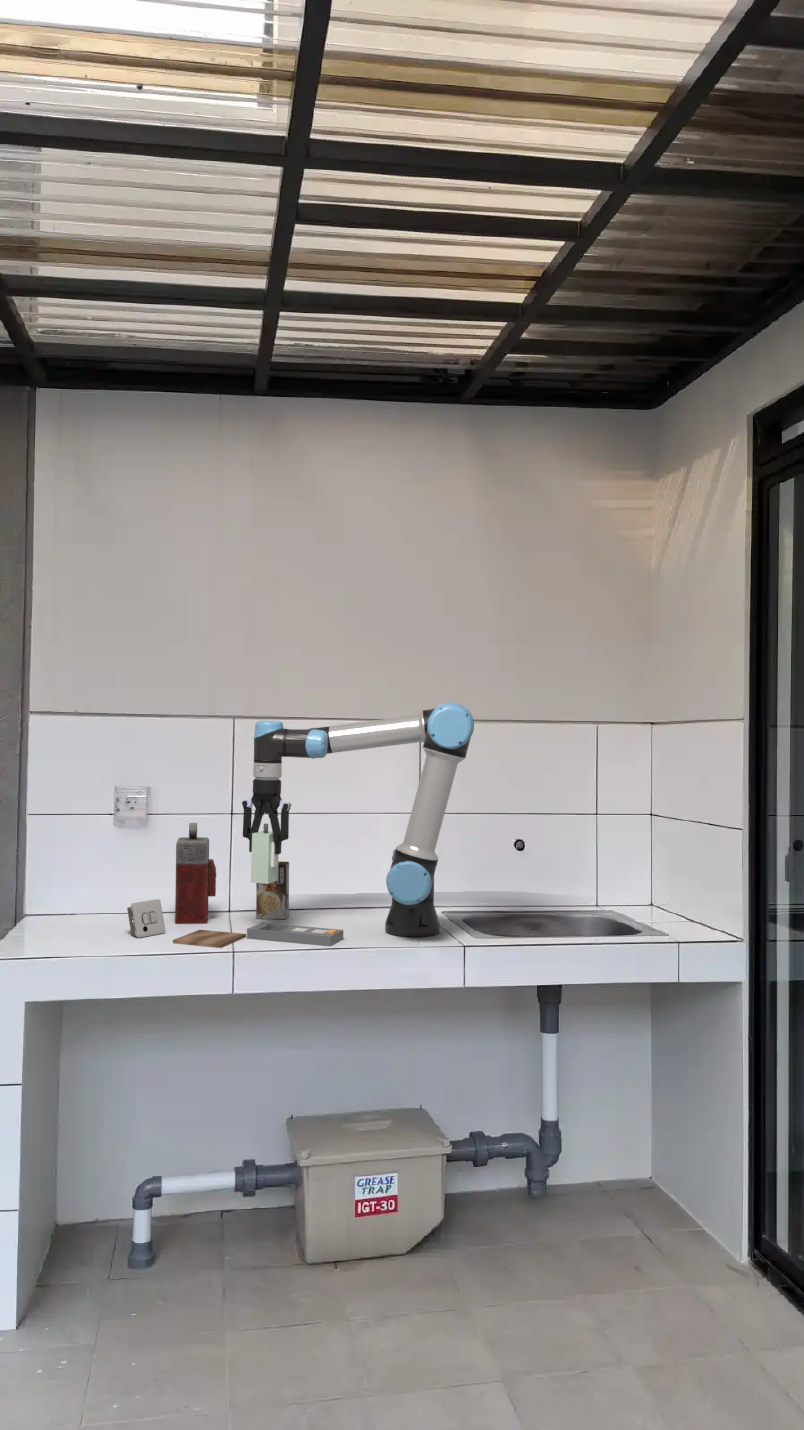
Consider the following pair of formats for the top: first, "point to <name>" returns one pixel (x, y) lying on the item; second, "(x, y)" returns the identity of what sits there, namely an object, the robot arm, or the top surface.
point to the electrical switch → (146, 918)
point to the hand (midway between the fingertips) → (264, 865)
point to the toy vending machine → (193, 878)
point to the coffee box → (274, 896)
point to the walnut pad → (209, 938)
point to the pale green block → (262, 858)
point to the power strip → (295, 934)
